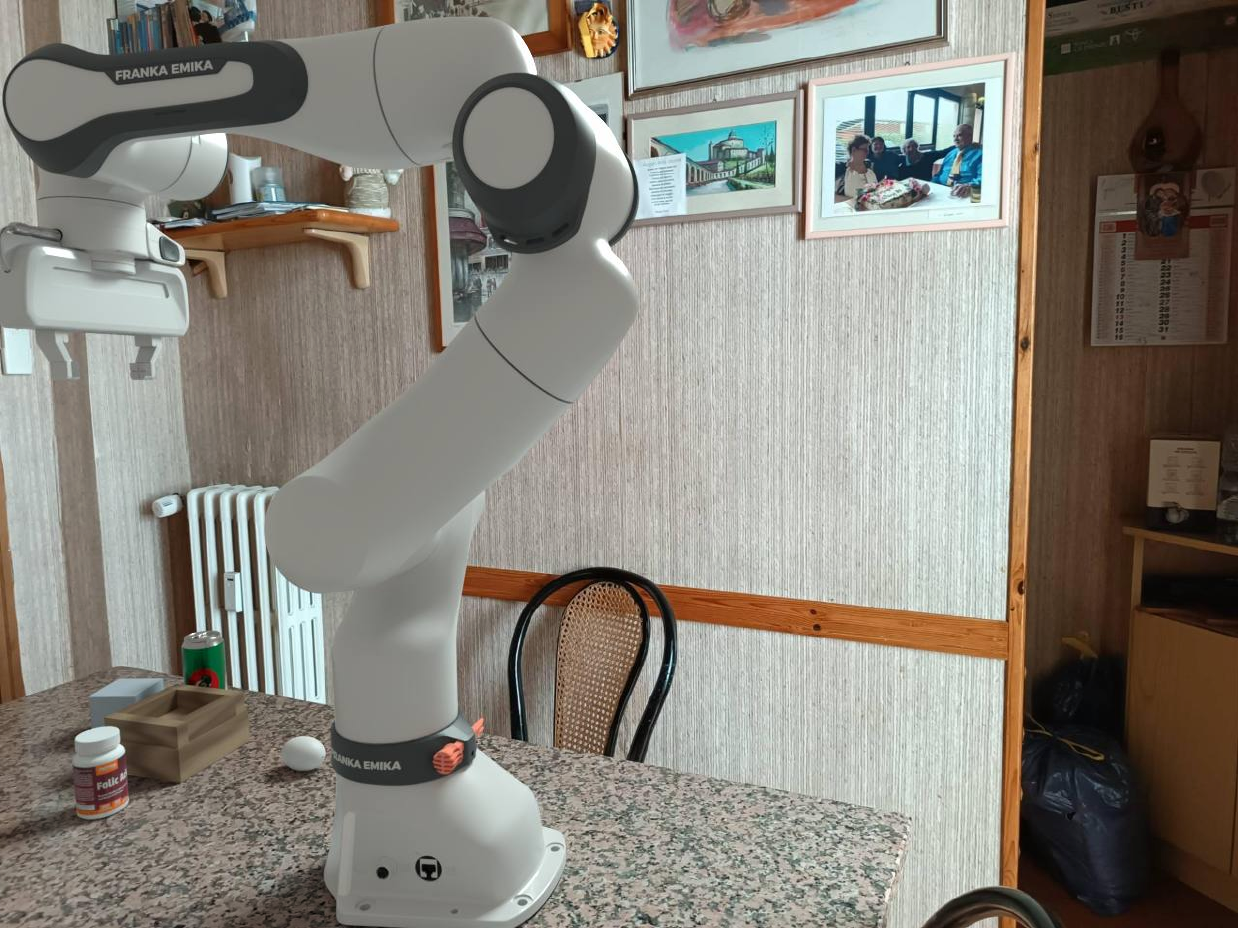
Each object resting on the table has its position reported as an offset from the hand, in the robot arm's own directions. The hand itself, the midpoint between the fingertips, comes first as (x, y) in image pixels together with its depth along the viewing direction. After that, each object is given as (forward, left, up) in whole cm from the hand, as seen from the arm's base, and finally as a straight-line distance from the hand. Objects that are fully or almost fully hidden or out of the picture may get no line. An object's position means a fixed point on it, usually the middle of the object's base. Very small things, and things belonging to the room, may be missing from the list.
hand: (107, 380), depth 79 cm
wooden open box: (+7, -12, -46) cm, 48 cm away
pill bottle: (+5, 0, -46) cm, 46 cm away
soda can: (+11, -21, -46) cm, 51 cm away
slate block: (+19, -16, -46) cm, 52 cm away
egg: (-10, -13, -46) cm, 49 cm away
